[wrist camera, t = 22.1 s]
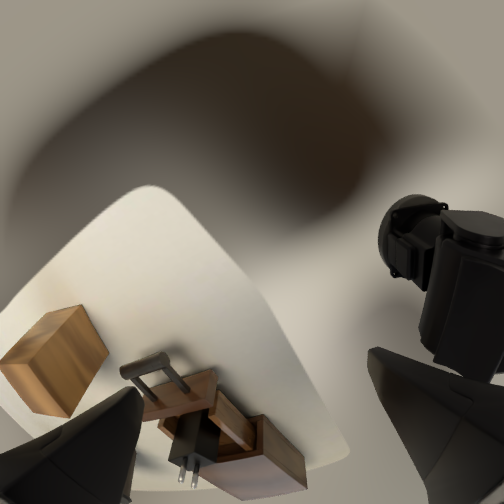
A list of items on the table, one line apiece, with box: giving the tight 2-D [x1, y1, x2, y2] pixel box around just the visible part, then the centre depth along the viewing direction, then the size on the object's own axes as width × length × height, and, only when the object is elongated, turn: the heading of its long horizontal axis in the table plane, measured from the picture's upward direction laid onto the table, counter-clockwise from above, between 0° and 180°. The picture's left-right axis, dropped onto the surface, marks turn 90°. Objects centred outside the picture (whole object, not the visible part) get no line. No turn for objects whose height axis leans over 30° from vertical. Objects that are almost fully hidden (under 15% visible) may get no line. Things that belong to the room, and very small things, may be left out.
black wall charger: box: [168, 408, 221, 489], centre depth 22 cm, size 4×3×9 cm, turn 132°
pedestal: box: [0, 305, 109, 418], centre depth 21 cm, size 6×6×10 cm
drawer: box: [120, 352, 257, 458], centre depth 25 cm, size 16×8×4 cm, turn 28°
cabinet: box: [192, 414, 308, 501], centre depth 28 cm, size 13×10×6 cm
